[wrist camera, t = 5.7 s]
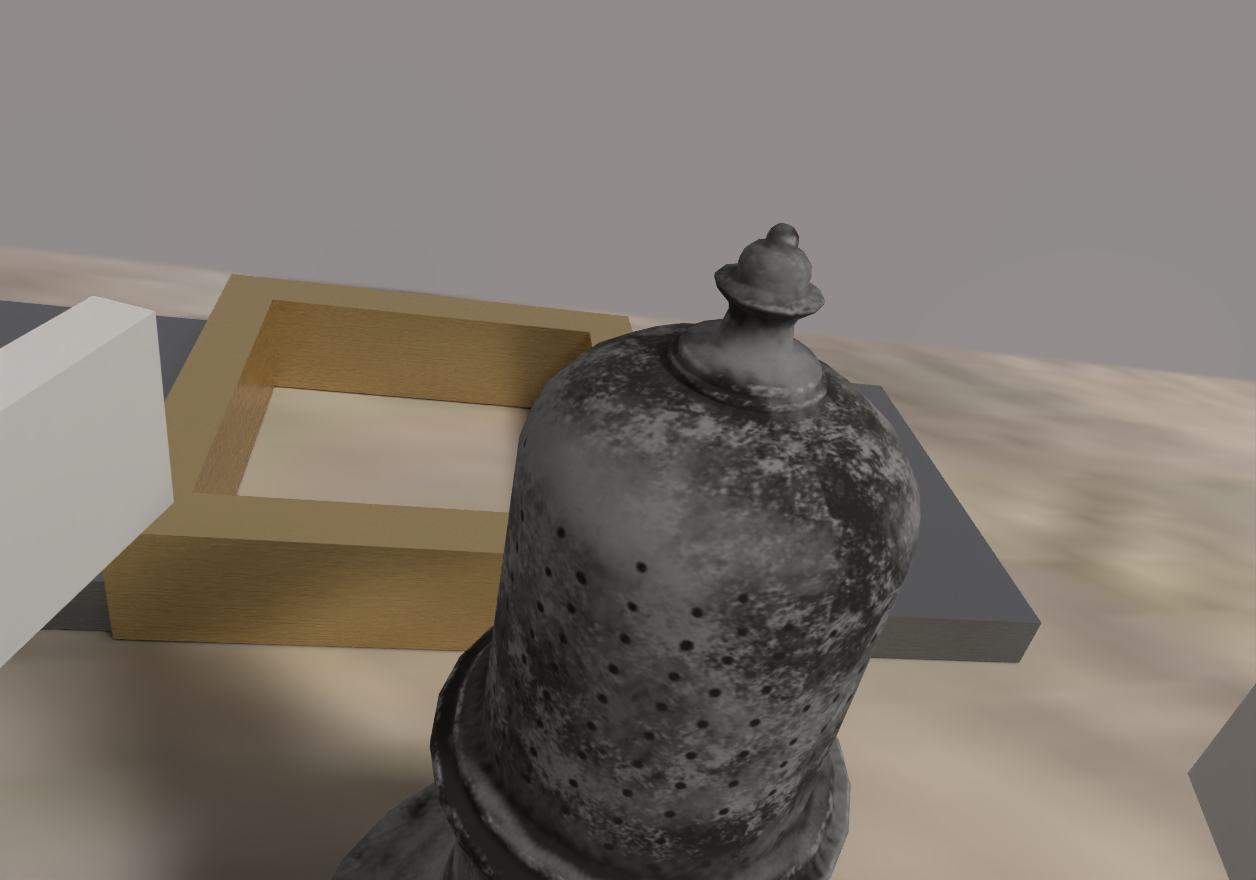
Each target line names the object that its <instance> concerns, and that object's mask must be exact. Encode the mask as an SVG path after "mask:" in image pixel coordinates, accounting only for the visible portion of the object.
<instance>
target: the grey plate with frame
mask: <svg viewBox="0 0 1256 880" xmlns="http://www.w3.org/2000/svg"><path fill="white" fill-rule="evenodd" d="M70 308H72V307H62V306H52V305H42V304H31V303H21V302H11V301H0V348H2V347H4V346H5V345H7V344H9V343H11V342H12V341H14V340H16V339H18V338H19V337H21V336H23V335H25V334H26V333H28V332H30V331H32V330H33V329H35V328H37V327H39V326H40V325H42V324H44V323H46V322H47V321H49V320H51V319H53V318H54V317H56V316H58V315H60V314H61V313H63V312H65V311H67V310H68V309H70ZM156 323H157V334H158V344H159V354H160V365H161V375H162V385H163V395H164V406H165V416H166V426H167V437H168V447H169V457H170V468H171V478H172V488H173V498H174V503H172V504H171V505H170V506H169V507H168V508H167V509H166V510H165V511H164V512H163V513H162V514H161V515H160V516H159V517H158V518H157V519H156V520H155V521H154V522H153V523H152V524H150V525H149V526H148V527H147V528H146V529H145V530H144V531H143V532H142V533H141V534H140V535H139V536H138V537H137V538H136V539H135V540H134V541H133V542H132V543H131V544H130V545H128V546H127V547H126V548H125V549H124V550H123V551H122V552H121V553H120V554H119V555H118V556H117V557H116V558H115V559H114V560H113V561H112V562H111V563H110V564H109V565H108V566H106V567H105V568H104V569H103V570H102V571H101V572H100V573H99V574H98V575H97V576H96V577H95V578H94V579H93V580H92V581H91V582H90V583H89V584H88V585H87V586H86V587H84V588H83V589H82V590H81V591H80V592H79V593H78V594H77V595H76V596H75V597H74V598H73V599H72V600H71V601H70V602H69V603H68V604H67V605H66V606H65V607H63V608H62V609H61V610H60V611H59V612H58V613H57V614H56V615H55V616H54V617H53V618H52V619H51V620H50V621H49V622H48V623H47V624H46V625H45V626H44V627H43V628H44V629H73V630H101V631H112V635H113V639H128V640H158V641H188V642H218V643H248V644H278V645H308V646H338V647H368V648H398V649H428V650H458V651H466V650H467V649H468V648H469V647H470V646H472V645H473V644H474V643H475V642H476V641H477V640H478V639H479V638H480V637H481V636H482V635H483V634H484V633H485V632H486V631H487V630H488V629H489V628H490V627H492V626H494V620H495V612H496V605H497V598H498V590H499V583H500V576H501V568H502V561H503V554H504V546H505V539H506V532H507V524H508V517H509V513H505V512H489V511H473V510H457V509H441V508H425V507H409V506H393V505H377V504H361V503H346V502H330V501H314V500H298V499H282V498H266V497H250V496H236V494H237V491H238V488H239V485H240V482H241V480H242V477H243V474H244V471H245V468H246V465H247V463H248V460H249V457H250V454H251V451H252V448H253V446H254V443H255V440H256V437H257V434H258V431H259V429H260V426H261V423H262V420H263V417H264V414H265V412H266V409H267V406H268V403H269V400H270V397H271V395H272V392H273V389H274V386H282V387H293V388H305V389H317V390H328V391H340V392H352V393H364V394H375V395H387V396H399V397H410V398H422V399H434V400H446V401H457V402H469V403H481V404H493V405H504V406H516V407H528V408H532V406H533V403H534V402H535V400H536V399H537V397H538V396H539V394H540V393H541V391H542V390H543V389H544V387H545V386H546V384H547V383H548V381H549V380H550V379H551V378H553V377H554V376H555V375H556V374H557V373H559V372H560V371H561V370H562V369H563V368H565V367H566V366H567V365H568V364H569V363H571V362H572V361H573V360H574V359H575V358H577V357H578V356H579V355H581V354H582V353H584V352H585V351H587V350H588V349H590V348H591V347H593V346H595V345H596V344H598V343H599V342H602V341H605V340H608V339H612V338H615V337H618V336H621V335H624V334H627V333H631V332H632V329H631V325H630V322H629V318H628V316H619V315H609V314H600V313H591V312H581V311H572V310H562V309H553V308H544V307H534V306H525V305H516V304H506V303H497V302H488V301H478V300H469V299H460V298H450V297H441V296H432V295H422V294H413V293H403V292H394V291H385V290H375V289H366V288H357V287H347V286H338V285H329V284H319V283H310V282H301V281H291V280H282V279H272V278H263V277H254V276H244V275H235V274H232V275H231V276H230V278H229V280H228V282H227V284H226V286H225V288H224V290H223V292H222V294H221V295H220V297H219V299H218V301H217V303H216V305H215V307H214V309H213V311H212V313H211V314H210V316H209V318H208V320H207V321H206V320H196V319H186V318H175V317H165V316H156ZM852 384H853V385H854V386H855V387H856V388H857V389H858V390H859V391H860V392H861V393H862V394H863V395H864V396H865V397H866V398H868V399H869V400H870V401H871V402H872V403H873V404H874V405H875V407H876V408H877V409H878V410H879V411H880V412H881V413H882V414H883V416H884V417H885V418H886V419H887V420H888V421H889V422H890V423H891V425H892V426H893V427H894V429H895V431H896V433H897V435H898V437H899V440H900V442H901V444H902V446H903V448H904V450H905V452H906V455H907V457H908V460H909V463H910V465H911V468H912V471H913V473H914V476H915V479H916V481H917V484H918V487H919V495H920V515H921V519H920V526H919V533H918V540H917V547H916V554H915V557H914V560H913V562H912V564H911V567H910V569H909V571H908V573H907V576H906V578H905V580H904V582H903V585H902V587H901V589H900V592H899V594H898V596H897V598H896V601H895V603H894V605H893V608H892V610H891V612H890V614H889V617H888V619H887V621H886V624H885V626H884V628H883V630H882V633H881V635H880V637H879V640H878V642H877V644H876V646H875V649H874V651H873V653H872V656H871V657H876V658H905V659H933V660H962V661H991V662H1020V660H1021V659H1022V657H1023V655H1024V653H1025V651H1026V650H1027V648H1028V646H1029V644H1030V642H1031V641H1032V639H1033V637H1034V635H1035V634H1036V632H1037V630H1038V628H1039V626H1040V625H1041V622H1040V620H1039V619H1038V617H1037V616H1036V614H1035V613H1034V611H1033V610H1032V608H1031V607H1030V606H1029V604H1028V603H1027V601H1026V600H1025V598H1024V597H1023V595H1022V594H1021V592H1020V591H1019V589H1018V588H1017V586H1016V585H1015V583H1014V582H1013V580H1012V579H1011V577H1010V576H1009V575H1008V573H1007V572H1006V570H1005V569H1004V567H1003V566H1002V564H1001V563H1000V561H999V560H998V558H997V557H996V555H995V554H994V552H993V551H992V549H991V548H990V546H989V545H988V543H987V542H986V541H985V539H984V538H983V536H982V535H981V533H980V532H979V530H978V529H977V527H976V526H975V524H974V523H973V521H972V520H971V518H970V517H969V515H968V514H967V512H966V511H965V509H964V508H963V507H962V505H961V504H960V502H959V501H958V499H957V498H956V496H955V495H954V493H953V492H952V490H951V489H950V487H949V486H948V484H947V483H946V481H945V480H944V478H943V477H942V475H941V474H940V473H939V471H938V470H937V468H936V467H935V465H934V464H933V462H932V461H931V459H930V458H929V456H928V455H927V453H926V452H925V450H924V449H923V447H922V446H921V444H920V443H919V441H918V440H917V439H916V437H915V436H914V434H913V433H912V431H911V430H910V428H909V427H908V425H907V424H906V422H905V421H904V419H903V418H902V416H901V415H900V413H899V412H898V410H897V409H896V407H895V406H894V405H893V403H892V402H891V400H890V399H889V397H888V396H887V394H886V393H885V391H884V390H883V388H882V387H881V386H875V385H865V384H855V383H852Z"/></svg>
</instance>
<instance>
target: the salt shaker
mask: <svg viewBox="0 0 1256 880" xmlns="http://www.w3.org/2000/svg"><path fill="white" fill-rule="evenodd" d="M798 244H799V236H798V234H797V232H796V230H795V229H794V227H792V226H790V225H788V224H784V223H779V224H777V225H775V226H774V227H772V228H771V229H770V231H769V233H768V234H767V237H766V239H759V240H757V241H755V242H753V243H751V244H750V245H748V246H747V247H746V248H744V250H743V252H742V254H741V255H740V258H739V261H738V264H726V265H725V266H723V267H722V268H721V269H719V270H718V271H716V272H715V275H714V277H715V280H716V285H717V288H718V289H719V290H720V292H721V293H722V294H723V295H724V297H725V298H726V299H727V300H728V302H729V309H728V311H727V313H726V315H725V317H724V318H723V319H717V320H708V321H703V322H700V323H696V324H689V323H680V324H671V325H662V326H655V327H651V328H647V329H643V330H639V331H635V332H631V333H627V334H624V335H621V336H618V337H615V338H612V339H608V340H605V341H602V342H599V343H598V344H596V345H595V346H593V347H591V348H590V349H588V350H587V351H585V352H584V353H582V354H581V355H579V356H578V357H577V358H575V359H574V360H573V361H572V362H571V363H569V364H568V365H567V366H566V367H565V368H563V369H562V370H561V371H560V372H559V373H557V374H556V375H555V376H554V377H553V378H551V379H550V380H549V381H548V383H547V384H546V386H545V387H544V389H543V390H542V391H541V393H540V394H539V396H538V397H537V399H536V400H535V402H534V403H533V406H532V408H531V410H530V413H529V415H528V418H527V420H526V422H525V425H524V427H523V429H522V432H521V434H520V437H519V444H518V451H517V459H516V466H515V473H514V481H513V488H512V495H511V503H510V510H509V517H508V524H507V532H506V539H505V546H504V554H503V561H502V568H501V576H500V583H499V590H498V598H497V605H496V612H495V620H494V626H492V627H490V628H489V629H488V630H487V631H486V632H485V633H484V634H483V635H482V636H481V637H480V638H479V639H478V640H477V641H476V642H475V643H474V644H473V645H472V646H470V647H469V648H468V649H467V650H466V651H465V652H464V653H463V654H462V655H461V656H460V657H459V659H458V661H457V663H456V665H455V666H454V668H453V670H452V672H451V674H450V675H449V677H448V679H447V681H446V683H445V684H444V686H443V688H442V690H441V692H440V693H439V697H438V702H437V708H436V713H435V718H434V723H433V729H432V734H431V740H430V751H431V758H432V766H433V773H434V781H435V782H434V783H432V784H431V785H429V786H428V787H426V788H425V789H423V790H422V791H420V792H418V793H417V794H415V795H414V796H412V797H411V798H409V799H407V800H406V801H404V802H403V803H401V804H400V805H398V806H396V807H395V808H393V809H392V810H390V811H389V812H388V813H387V814H386V815H385V816H384V817H383V818H382V819H381V820H380V821H379V822H378V823H377V824H376V825H375V827H374V828H373V829H372V830H371V831H370V832H369V833H368V834H367V835H366V836H365V837H364V838H363V839H362V840H361V841H360V842H359V843H358V844H357V845H356V846H355V847H354V848H353V849H352V850H351V852H350V853H349V854H348V855H347V856H346V857H345V858H344V859H343V861H342V862H341V864H340V866H339V868H338V869H337V871H336V873H335V875H334V876H333V878H332V880H829V879H830V877H831V875H832V872H833V870H834V867H835V865H836V862H837V860H838V857H839V854H840V852H841V849H842V847H843V844H844V842H845V839H846V837H847V834H848V830H849V807H850V782H849V778H848V774H847V770H846V766H845V763H844V759H843V755H842V751H841V747H840V743H839V740H838V738H837V736H836V735H837V733H838V731H839V729H840V726H841V724H842V722H843V719H844V717H845V715H846V713H847V710H848V708H849V706H850V704H851V701H852V699H853V697H854V694H855V692H856V690H857V688H858V685H859V683H860V681H861V678H862V676H863V674H864V672H865V669H866V667H867V665H868V662H869V660H870V658H871V656H872V653H873V651H874V649H875V646H876V644H877V642H878V640H879V637H880V635H881V633H882V630H883V628H884V626H885V624H886V621H887V619H888V617H889V614H890V612H891V610H892V608H893V605H894V603H895V601H896V598H897V596H898V594H899V592H900V589H901V587H902V585H903V582H904V580H905V578H906V576H907V573H908V571H909V569H910V567H911V564H912V562H913V560H914V557H915V554H916V547H917V540H918V533H919V526H920V519H921V515H920V495H919V487H918V484H917V481H916V479H915V476H914V473H913V471H912V468H911V465H910V463H909V460H908V457H907V455H906V452H905V450H904V448H903V446H902V444H901V442H900V440H899V437H898V435H897V433H896V431H895V429H894V427H893V426H892V425H891V423H890V422H889V421H888V420H887V419H886V418H885V417H884V416H883V414H882V413H881V412H880V411H879V410H878V409H877V408H876V407H875V405H874V404H873V403H872V402H871V401H870V400H869V399H868V398H866V397H865V396H864V395H863V394H862V393H861V392H860V391H859V390H858V389H857V388H856V387H855V386H854V385H853V384H852V383H850V382H849V381H848V380H847V379H846V378H844V377H843V376H842V375H840V374H839V373H838V372H837V371H835V370H834V369H833V368H831V367H830V366H829V365H827V364H826V363H824V362H822V361H820V360H819V359H817V357H816V356H815V355H814V353H813V352H812V351H811V350H810V349H809V348H807V347H806V346H805V345H804V344H802V343H801V342H800V341H798V340H796V339H795V338H793V336H794V325H795V323H796V322H797V320H798V319H801V318H803V317H806V316H808V315H811V314H814V313H815V312H817V310H819V309H820V308H821V307H822V306H823V305H824V302H825V300H824V298H823V296H822V293H821V291H820V289H819V288H817V287H816V286H814V285H813V284H811V283H810V279H811V268H812V265H811V263H810V261H809V259H808V257H807V256H806V254H805V253H804V251H802V250H801V249H799V248H798Z"/></svg>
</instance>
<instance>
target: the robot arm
mask: <svg viewBox="0 0 1256 880" xmlns="http://www.w3.org/2000/svg"><path fill="white" fill-rule="evenodd" d="M172 503H174V498H173V488H172V478H171V468H170V457H169V447H168V437H167V426H166V416H165V406H164V395H163V385H162V375H161V365H160V354H159V344H158V334H157V323H156V313H155V311H152V310H148V309H144V308H140V307H137V306H133V305H129V304H125V303H121V302H117V301H113V300H109V299H105V298H101V297H97V296H91V297H89V298H88V299H86V300H84V301H82V302H81V303H79V304H77V305H75V306H74V307H72V308H70V309H68V310H67V311H65V312H63V313H61V314H60V315H58V316H56V317H54V318H53V319H51V320H49V321H47V322H46V323H44V324H42V325H40V326H39V327H37V328H35V329H33V330H32V331H30V332H28V333H26V334H25V335H23V336H21V337H19V338H18V339H16V340H14V341H12V342H11V343H9V344H7V345H5V346H4V347H2V348H0V668H1V667H2V666H3V665H4V664H5V663H6V662H7V661H8V660H9V659H10V658H11V657H12V656H13V655H14V654H15V653H16V652H17V651H18V650H19V649H21V648H22V647H23V646H24V645H25V644H26V643H27V642H28V641H29V640H30V639H31V638H32V637H33V636H34V635H35V634H36V633H37V632H38V631H39V630H40V629H41V628H43V627H44V626H45V625H46V624H47V623H48V622H49V621H50V620H51V619H52V618H53V617H54V616H55V615H56V614H57V613H58V612H59V611H60V610H61V609H62V608H63V607H65V606H66V605H67V604H68V603H69V602H70V601H71V600H72V599H73V598H74V597H75V596H76V595H77V594H78V593H79V592H80V591H81V590H82V589H83V588H84V587H86V586H87V585H88V584H89V583H90V582H91V581H92V580H93V579H94V578H95V577H96V576H97V575H98V574H99V573H100V572H101V571H102V570H103V569H104V568H105V567H106V566H108V565H109V564H110V563H111V562H112V561H113V560H114V559H115V558H116V557H117V556H118V555H119V554H120V553H121V552H122V551H123V550H124V549H125V548H126V547H127V546H128V545H130V544H131V543H132V542H133V541H134V540H135V539H136V538H137V537H138V536H139V535H140V534H141V533H142V532H143V531H144V530H145V529H146V528H147V527H148V526H149V525H150V524H152V523H153V522H154V521H155V520H156V519H157V518H158V517H159V516H160V515H161V514H162V513H163V512H164V511H165V510H166V509H167V508H168V507H169V506H170V505H171V504H172ZM1188 775H1189V778H1190V780H1191V783H1192V785H1193V788H1194V790H1195V793H1196V796H1197V798H1198V801H1199V803H1200V806H1201V808H1202V811H1203V813H1204V816H1205V819H1206V821H1207V824H1208V826H1209V829H1210V831H1211V834H1212V836H1213V839H1214V842H1215V844H1216V847H1217V849H1218V852H1219V854H1220V857H1221V859H1222V862H1223V864H1224V867H1225V870H1226V872H1227V875H1228V877H1229V880H1256V684H1255V686H1254V687H1253V688H1252V690H1251V691H1250V692H1249V693H1248V695H1247V696H1246V697H1245V699H1244V700H1243V701H1242V703H1241V704H1240V705H1239V707H1238V708H1237V709H1236V711H1235V712H1234V713H1233V714H1232V716H1231V717H1230V718H1229V720H1228V721H1227V722H1226V724H1225V725H1224V726H1223V728H1222V729H1221V730H1220V732H1219V733H1218V734H1217V735H1216V737H1215V738H1214V739H1213V741H1212V742H1211V743H1210V745H1209V746H1208V747H1207V749H1206V750H1205V751H1204V753H1203V754H1202V755H1201V756H1200V758H1199V759H1198V760H1197V762H1196V763H1195V764H1194V766H1193V767H1192V768H1191V770H1190V771H1189V772H1188Z"/></svg>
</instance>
